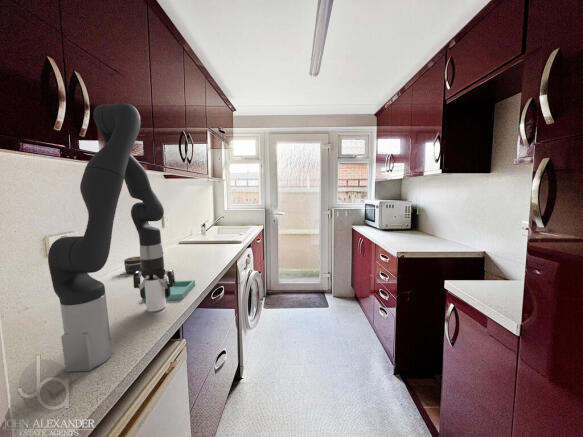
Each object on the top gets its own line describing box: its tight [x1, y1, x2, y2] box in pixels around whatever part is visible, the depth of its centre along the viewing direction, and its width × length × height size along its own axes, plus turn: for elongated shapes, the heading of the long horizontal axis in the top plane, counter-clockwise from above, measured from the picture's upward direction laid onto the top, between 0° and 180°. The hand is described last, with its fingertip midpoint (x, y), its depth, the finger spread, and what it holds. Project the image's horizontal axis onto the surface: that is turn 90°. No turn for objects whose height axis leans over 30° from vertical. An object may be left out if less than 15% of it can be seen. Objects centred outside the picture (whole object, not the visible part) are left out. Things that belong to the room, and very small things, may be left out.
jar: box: [123, 255, 142, 275], centre depth 146 cm, size 10×10×8 cm
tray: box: [141, 279, 196, 302], centre depth 114 cm, size 16×16×2 cm
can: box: [145, 278, 167, 313], centre depth 99 cm, size 6×6×12 cm
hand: (156, 297), depth 100 cm, fingers open, 8 cm apart
